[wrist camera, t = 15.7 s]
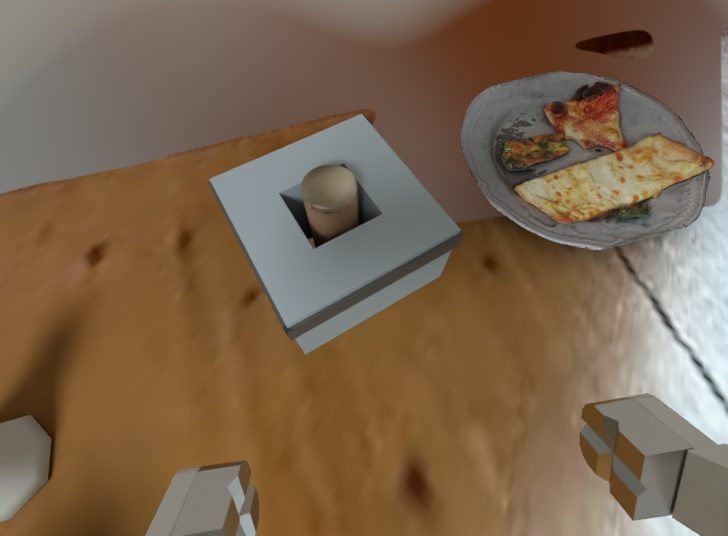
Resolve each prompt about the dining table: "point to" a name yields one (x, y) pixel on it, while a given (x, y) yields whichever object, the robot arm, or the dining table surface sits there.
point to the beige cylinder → (330, 202)
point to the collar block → (346, 252)
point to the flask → (22, 463)
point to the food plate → (584, 159)
